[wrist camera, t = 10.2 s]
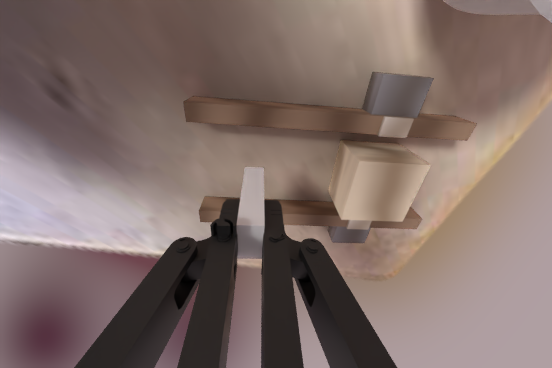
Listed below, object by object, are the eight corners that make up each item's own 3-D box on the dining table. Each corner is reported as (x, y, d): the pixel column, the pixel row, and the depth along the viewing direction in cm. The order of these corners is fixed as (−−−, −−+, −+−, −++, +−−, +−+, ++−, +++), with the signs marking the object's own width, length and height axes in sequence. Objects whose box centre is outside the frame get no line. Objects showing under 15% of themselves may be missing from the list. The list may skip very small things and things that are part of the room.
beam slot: (208, 226, 26) (202, 244, 24) (188, 55, 17) (175, 55, 14) (395, 232, 28) (407, 249, 25) (472, 80, 18) (503, 84, 16)
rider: (327, 190, 24) (341, 219, 20) (340, 139, 21) (359, 161, 17) (378, 192, 24) (402, 221, 20) (398, 143, 21) (431, 165, 17)
